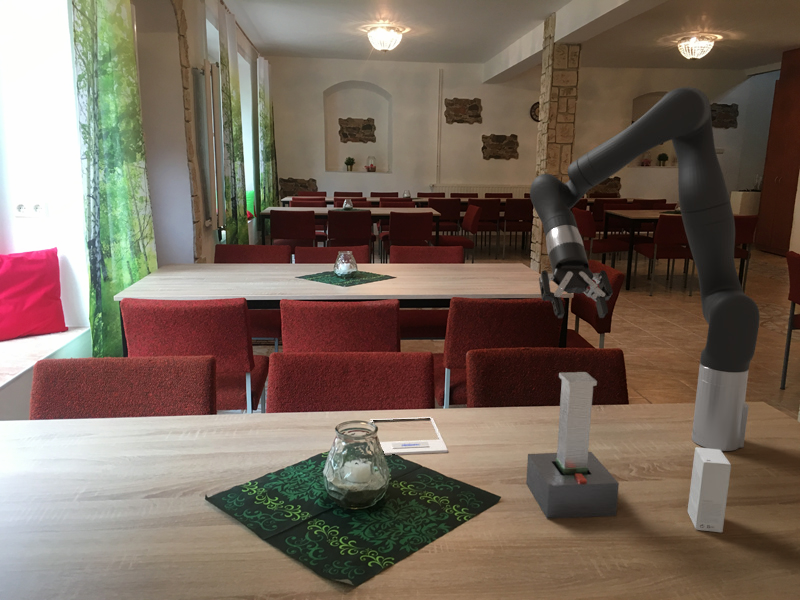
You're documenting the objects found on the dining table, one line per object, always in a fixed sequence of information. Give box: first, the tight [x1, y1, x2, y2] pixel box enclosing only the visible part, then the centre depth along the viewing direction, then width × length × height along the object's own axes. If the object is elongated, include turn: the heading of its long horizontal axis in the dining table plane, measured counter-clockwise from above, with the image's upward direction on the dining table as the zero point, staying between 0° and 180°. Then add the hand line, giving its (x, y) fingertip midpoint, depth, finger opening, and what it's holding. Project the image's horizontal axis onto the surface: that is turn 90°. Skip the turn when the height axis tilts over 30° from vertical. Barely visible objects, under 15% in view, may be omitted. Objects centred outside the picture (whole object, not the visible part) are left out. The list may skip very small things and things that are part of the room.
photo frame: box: [369, 416, 448, 456], centre depth 139 cm, size 15×1×18 cm
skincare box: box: [687, 446, 732, 533], centre depth 105 cm, size 6×4×12 cm
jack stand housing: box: [525, 451, 620, 520], centre depth 112 cm, size 12×12×6 cm
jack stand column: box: [556, 371, 598, 475], centre depth 110 cm, size 5×5×17 cm
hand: (582, 316), depth 127 cm, fingers open, 8 cm apart
